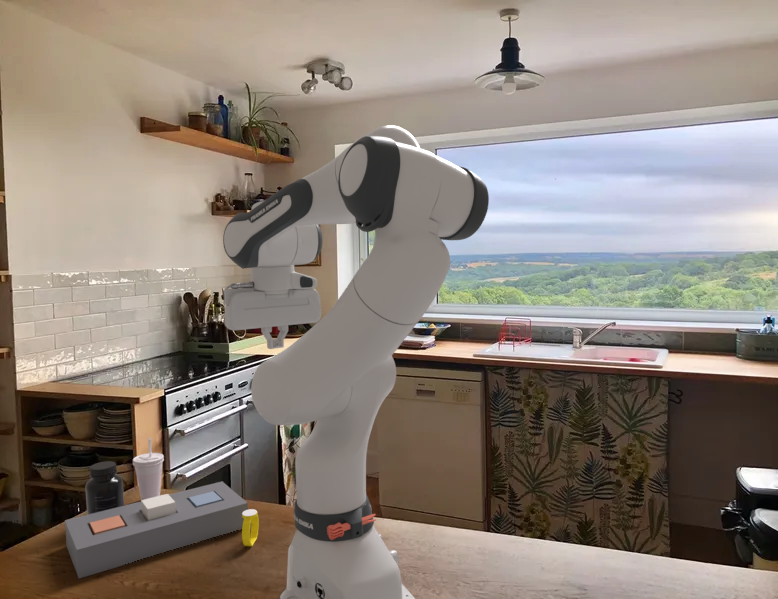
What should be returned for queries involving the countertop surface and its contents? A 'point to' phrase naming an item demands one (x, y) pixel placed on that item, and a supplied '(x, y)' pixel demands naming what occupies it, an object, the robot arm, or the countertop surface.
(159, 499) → the white key
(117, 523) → the terracotta key
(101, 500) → the supplement bottle
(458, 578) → the countertop surface
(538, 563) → the countertop surface
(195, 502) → the slate blue key
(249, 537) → the watch
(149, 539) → the key panel
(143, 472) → the smoothie
